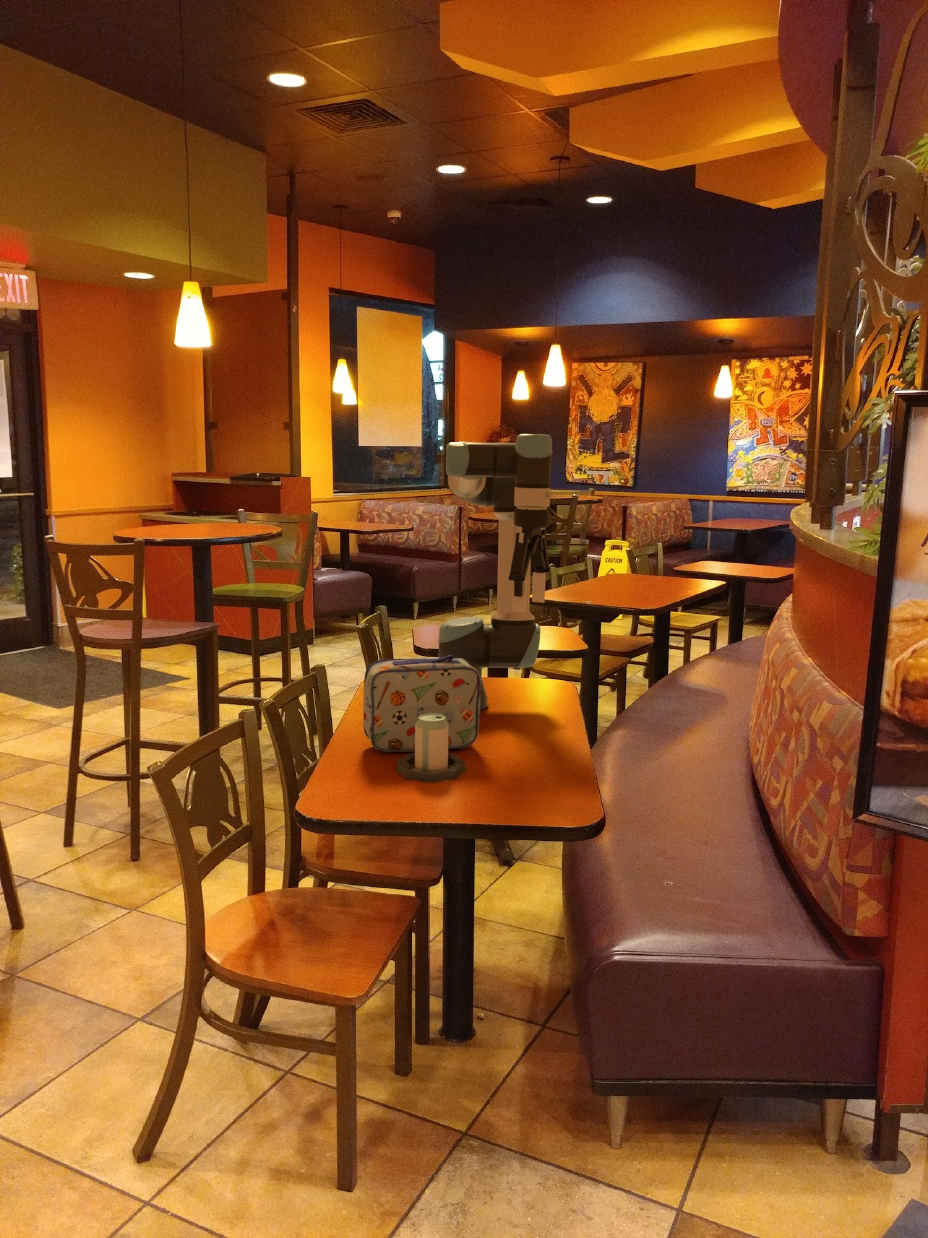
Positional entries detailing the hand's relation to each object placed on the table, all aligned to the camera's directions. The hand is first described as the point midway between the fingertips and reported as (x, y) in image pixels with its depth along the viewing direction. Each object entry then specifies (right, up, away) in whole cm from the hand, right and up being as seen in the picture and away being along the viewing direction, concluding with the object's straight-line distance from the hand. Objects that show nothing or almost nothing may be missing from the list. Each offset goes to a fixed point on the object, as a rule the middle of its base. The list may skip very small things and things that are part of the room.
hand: (528, 606), depth 208 cm
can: (-21, -35, -2) cm, 41 cm away
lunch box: (-23, -32, +14) cm, 42 cm away
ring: (-21, -35, -2) cm, 41 cm away
